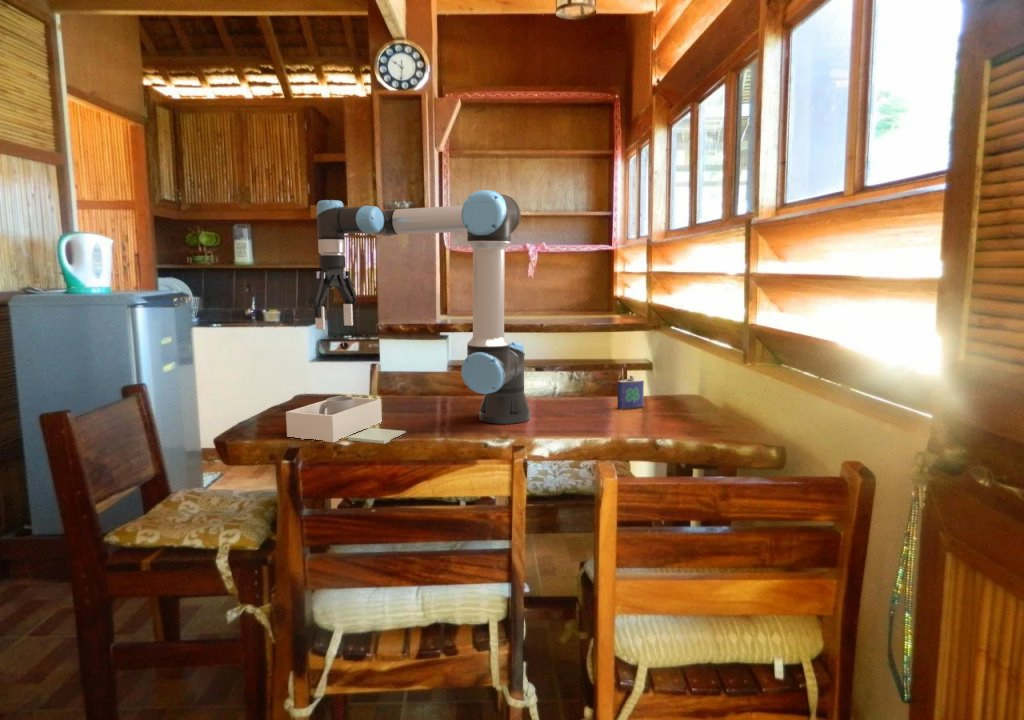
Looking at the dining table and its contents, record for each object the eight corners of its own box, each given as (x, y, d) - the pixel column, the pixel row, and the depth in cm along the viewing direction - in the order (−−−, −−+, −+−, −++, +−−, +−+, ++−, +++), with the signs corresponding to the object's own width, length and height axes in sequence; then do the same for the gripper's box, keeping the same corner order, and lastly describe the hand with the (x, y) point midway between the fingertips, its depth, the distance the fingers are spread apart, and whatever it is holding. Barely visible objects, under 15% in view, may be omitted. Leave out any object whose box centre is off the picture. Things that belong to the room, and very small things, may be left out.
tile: (405, 433, 185) (405, 431, 185) (384, 443, 175) (384, 440, 175) (370, 430, 189) (370, 427, 189) (348, 440, 179) (347, 437, 179)
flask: (640, 406, 220) (641, 373, 219) (645, 408, 218) (646, 374, 216) (615, 408, 217) (616, 375, 215) (620, 410, 214) (620, 376, 213)
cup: (348, 434, 186) (346, 401, 185) (313, 432, 188) (312, 400, 186) (358, 427, 193) (357, 396, 192) (325, 426, 195) (324, 395, 193)
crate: (381, 422, 199) (381, 399, 198) (333, 442, 177) (332, 415, 176) (339, 419, 204) (338, 396, 203) (287, 437, 182) (285, 412, 181)
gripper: (346, 255, 212) (349, 323, 215) (292, 254, 189) (296, 330, 192) (367, 255, 209) (369, 324, 212) (315, 253, 186) (318, 331, 189)
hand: (334, 327), depth 202 cm, fingers open, 13 cm apart
